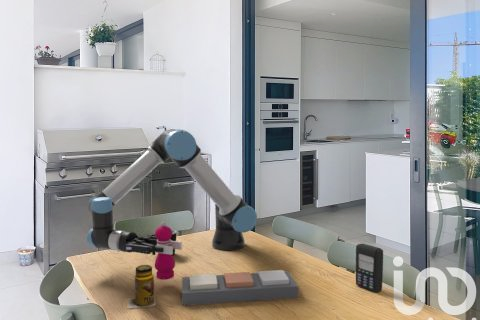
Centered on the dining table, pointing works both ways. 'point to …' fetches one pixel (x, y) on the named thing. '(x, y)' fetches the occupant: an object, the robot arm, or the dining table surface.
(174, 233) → the coffee mug
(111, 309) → the dining table surface
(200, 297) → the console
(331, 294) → the dining table surface
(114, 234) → the robot arm
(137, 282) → the condiment
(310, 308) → the dining table surface
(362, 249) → the card reader
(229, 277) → the key terracotta
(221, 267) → the dining table surface
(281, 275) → the key grey
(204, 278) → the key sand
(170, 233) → the pepper mill
